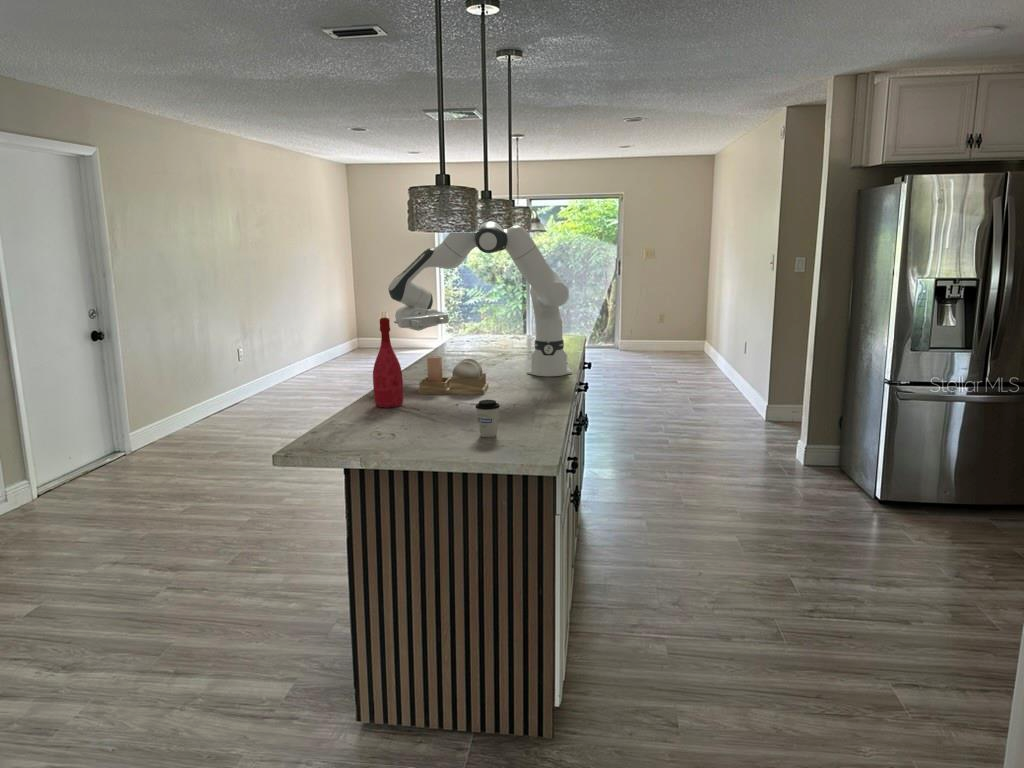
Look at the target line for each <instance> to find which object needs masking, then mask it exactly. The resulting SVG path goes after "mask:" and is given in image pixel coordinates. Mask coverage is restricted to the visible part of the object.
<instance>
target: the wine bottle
mask: <svg viewBox="0 0 1024 768" xmlns="http://www.w3.org/2000/svg"><path fill="white" fill-rule="evenodd" d="M379 331H380V333H381V334H380V335H381V337H380V338H381V340H380V347H379V351H378V353H377V356H376V359H375V360H374V361H375V362H374V364H373V369H372V370H373V371H372V386H373V396H374V398H373V399H374V404H375V406H376V407H378V408H381V407H384V408H383V409H391V408H390V407H393V408H397V406H398V407H400V406H402V405H403V403H404V388H403V387H404V386H403V385H404V383H403V381H404V380H403V371H402V366H401V364H400V361H399V359H398V357H397V355H396V352H395V351H394V349H393V347H392V343H391V336H390V332H391V325H390V318H388V317H381V318H380V319H379Z"/></svg>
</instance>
